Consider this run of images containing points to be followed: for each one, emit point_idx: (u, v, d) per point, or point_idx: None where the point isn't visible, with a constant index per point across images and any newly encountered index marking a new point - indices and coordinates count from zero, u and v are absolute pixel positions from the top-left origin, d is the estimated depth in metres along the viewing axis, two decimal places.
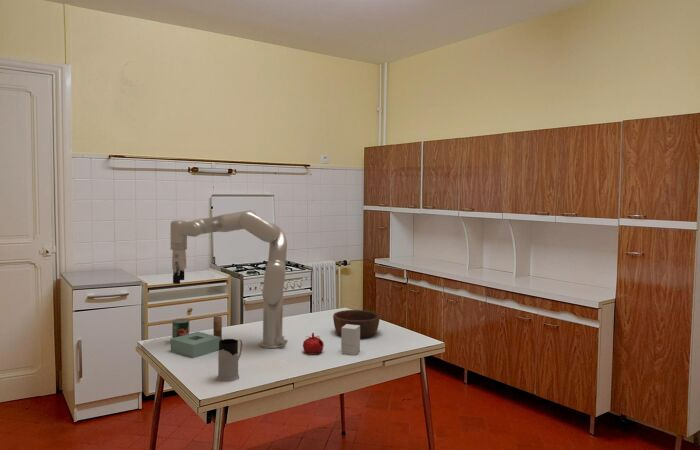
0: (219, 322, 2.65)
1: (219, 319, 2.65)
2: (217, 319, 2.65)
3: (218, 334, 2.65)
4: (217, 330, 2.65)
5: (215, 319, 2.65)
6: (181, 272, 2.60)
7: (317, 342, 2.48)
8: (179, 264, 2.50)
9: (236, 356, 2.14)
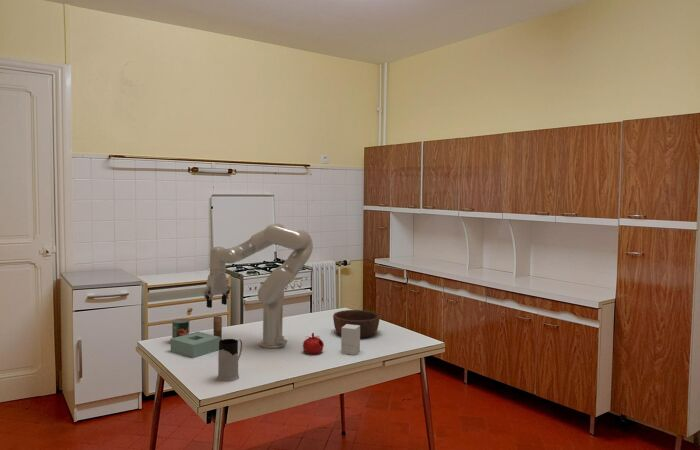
0: (219, 322, 2.65)
1: (219, 319, 2.65)
2: (217, 319, 2.65)
3: (218, 334, 2.65)
4: (217, 330, 2.65)
5: (215, 319, 2.65)
6: None
7: (317, 342, 2.48)
8: None
9: (236, 356, 2.14)
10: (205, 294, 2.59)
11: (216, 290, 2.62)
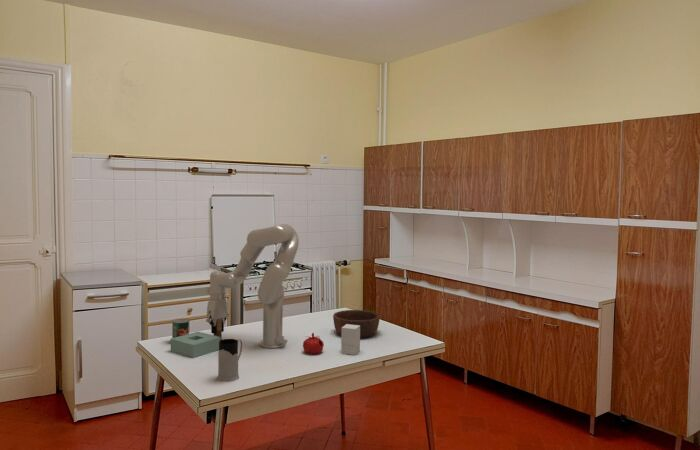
0: (219, 322, 2.65)
1: (219, 319, 2.65)
2: (217, 319, 2.65)
3: (218, 334, 2.65)
4: (217, 330, 2.65)
5: None
6: None
7: (317, 342, 2.48)
8: None
9: (236, 356, 2.14)
10: (209, 322, 2.61)
11: (217, 315, 2.63)
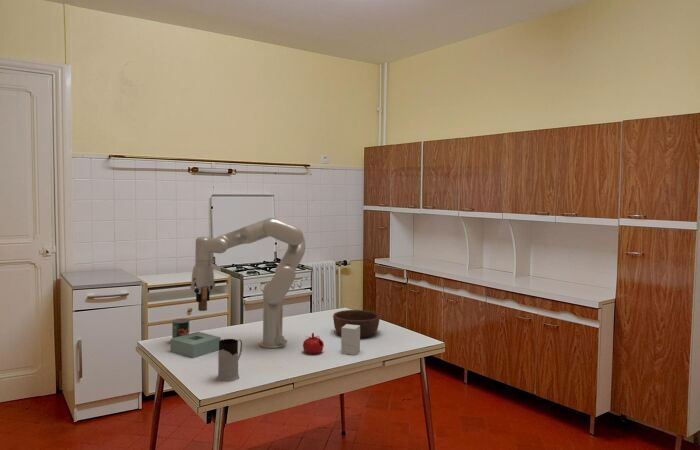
0: (204, 290, 2.53)
1: (204, 287, 2.53)
2: (202, 287, 2.53)
3: (203, 303, 2.53)
4: (202, 298, 2.53)
5: None
6: None
7: (317, 342, 2.48)
8: None
9: (236, 356, 2.14)
10: (193, 289, 2.49)
11: (202, 282, 2.51)
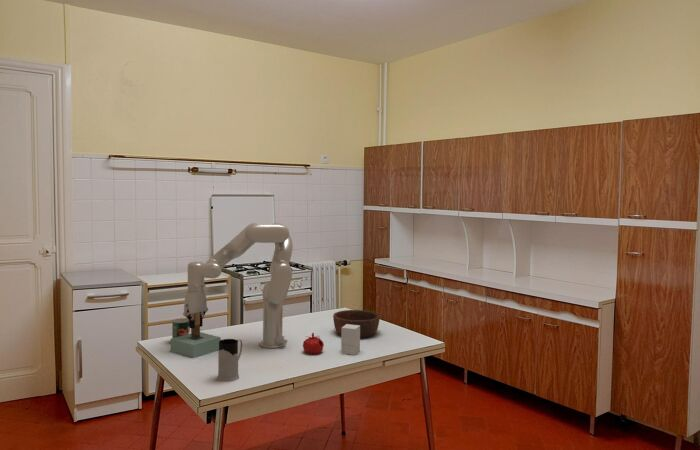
0: (197, 316, 2.48)
1: (197, 313, 2.48)
2: (195, 313, 2.48)
3: (196, 329, 2.49)
4: (195, 324, 2.48)
5: None
6: None
7: (317, 342, 2.48)
8: None
9: (236, 356, 2.14)
10: (186, 316, 2.45)
11: (195, 309, 2.46)
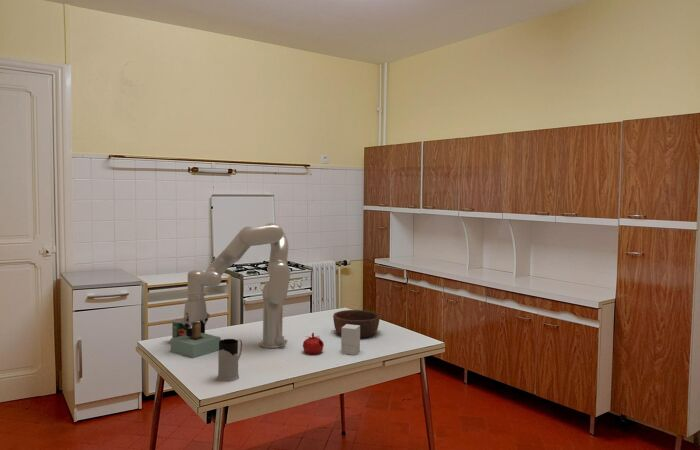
0: (198, 328, 2.49)
1: (198, 325, 2.49)
2: (196, 325, 2.48)
3: None
4: (196, 336, 2.49)
5: (194, 325, 2.49)
6: None
7: (317, 342, 2.48)
8: None
9: (236, 356, 2.14)
10: (184, 323, 2.44)
11: (195, 317, 2.47)
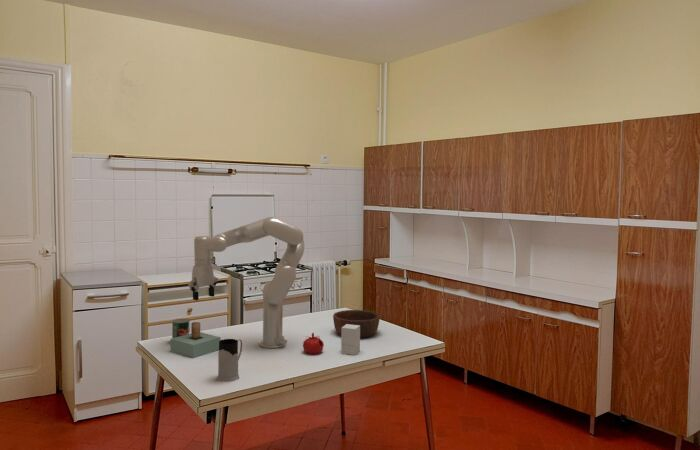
0: (197, 328, 2.49)
1: (197, 325, 2.49)
2: (195, 325, 2.48)
3: None
4: (195, 336, 2.49)
5: (193, 325, 2.48)
6: None
7: (317, 342, 2.48)
8: None
9: (236, 356, 2.14)
10: (191, 286, 2.46)
11: (202, 282, 2.49)
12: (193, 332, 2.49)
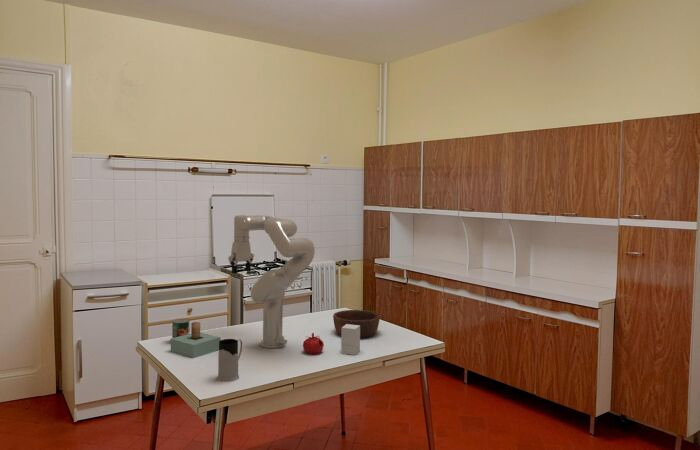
0: (197, 328, 2.49)
1: (197, 325, 2.49)
2: (195, 325, 2.48)
3: None
4: (195, 336, 2.49)
5: (193, 325, 2.48)
6: None
7: (317, 342, 2.48)
8: None
9: (236, 356, 2.14)
10: (230, 260, 2.68)
11: (241, 257, 2.72)
12: (193, 332, 2.49)
